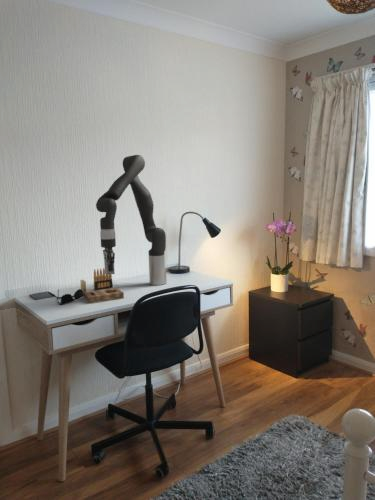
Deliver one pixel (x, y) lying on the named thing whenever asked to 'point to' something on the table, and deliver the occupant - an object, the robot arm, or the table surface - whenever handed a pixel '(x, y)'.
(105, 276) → the ammunition clip
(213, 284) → the table surface
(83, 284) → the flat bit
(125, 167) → the robot arm
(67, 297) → the sunglasses
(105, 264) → the square bit
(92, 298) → the bore block
